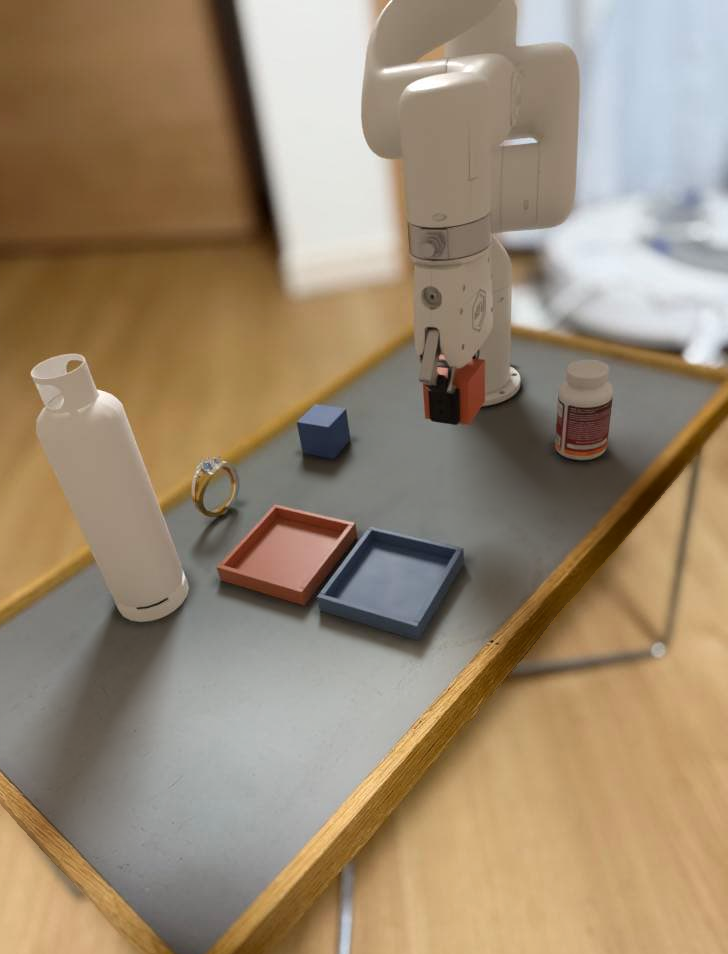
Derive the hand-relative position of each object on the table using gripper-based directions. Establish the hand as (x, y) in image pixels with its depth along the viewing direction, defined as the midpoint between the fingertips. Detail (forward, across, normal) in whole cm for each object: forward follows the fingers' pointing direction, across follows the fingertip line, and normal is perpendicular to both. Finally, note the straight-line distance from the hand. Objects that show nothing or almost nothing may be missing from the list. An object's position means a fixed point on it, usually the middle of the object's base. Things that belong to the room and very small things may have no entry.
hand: (454, 406), depth 76 cm
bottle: (+13, -27, +26) cm, 39 cm away
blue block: (+13, +6, +21) cm, 26 cm away
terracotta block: (0, 0, 0) cm, 0 cm away
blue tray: (+12, -16, +1) cm, 21 cm away
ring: (+13, -12, +27) cm, 32 cm away
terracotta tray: (+13, -16, +14) cm, 25 cm away
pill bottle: (+13, +15, -11) cm, 22 cm away
